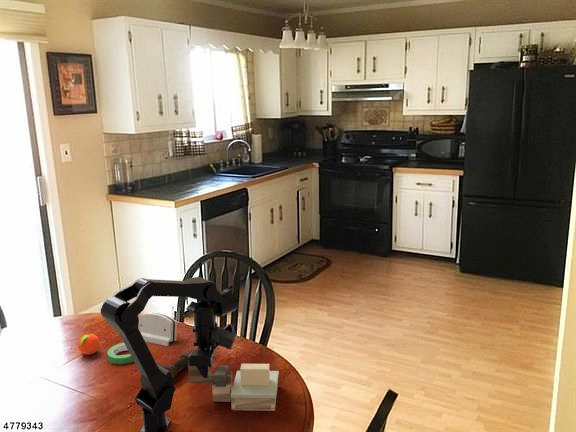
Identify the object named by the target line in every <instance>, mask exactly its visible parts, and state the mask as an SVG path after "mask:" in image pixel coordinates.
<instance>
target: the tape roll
mask: <svg viewBox="0 0 576 432" xmlns="http://www.w3.org/2000/svg"><path fill="white" fill-rule="evenodd" d="M124 351H128V349H127V347H126V345H125V343H124V342H120V343H117V344H115V345H112V346H111V347H110V348H109V349H108V350H107V361H109V363H111V364H115V365H125V364H130V363H133V362H134V360H133V358H132V356H131V355H130V353H129V354H123V355H117V354H119V353H121V352H124Z"/></svg>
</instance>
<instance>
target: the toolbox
mask: <svg viewBox="0 0 576 432" xmlns="http://www.w3.org/2000/svg"><path fill="white" fill-rule="evenodd" d="M215 371H216V372H215V383H212V384H211V385H212V386H211V389H212V390H211V391H212V402H215V403H216V402H221V403H222V402H225V403H226V402H228V403H230V402H231V411H276V402H277V396H278V395H277V394H278V391H277V392H276V398H231V391H232V388H233V382H232V383H226V373H227V371H229V365H217V367H216V369H215ZM278 384H279V383H277V389H278Z"/></svg>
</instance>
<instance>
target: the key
mask: <svg viewBox="0 0 576 432" xmlns="http://www.w3.org/2000/svg"><path fill="white" fill-rule="evenodd" d="M187 369H188V370H187V371H188V379H189V381H188V382H189V384H213V383H215V372H216V370H214V371H213V370H209V371H208V377H207V378H203V376H202V375H201V373H200V372H199V370H198V368H197V367H196V366H189V365H188V368H187ZM226 383H232V384H233V370H232V371H231V370H230V371H229V370H228V371H227V373H226Z"/></svg>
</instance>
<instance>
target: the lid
mask: <svg viewBox="0 0 576 432" xmlns="http://www.w3.org/2000/svg"><path fill="white" fill-rule="evenodd" d="M270 368H271V367H270V363H241V364H240V368H239V370H236V374H235V377H234V380H233V383H232V391H231V398H276V399H277V396H276V392H277V393H278V388H277V383H278V381H279V373H280V371H279V370H271V369H270ZM278 384H279V383H278Z"/></svg>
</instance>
